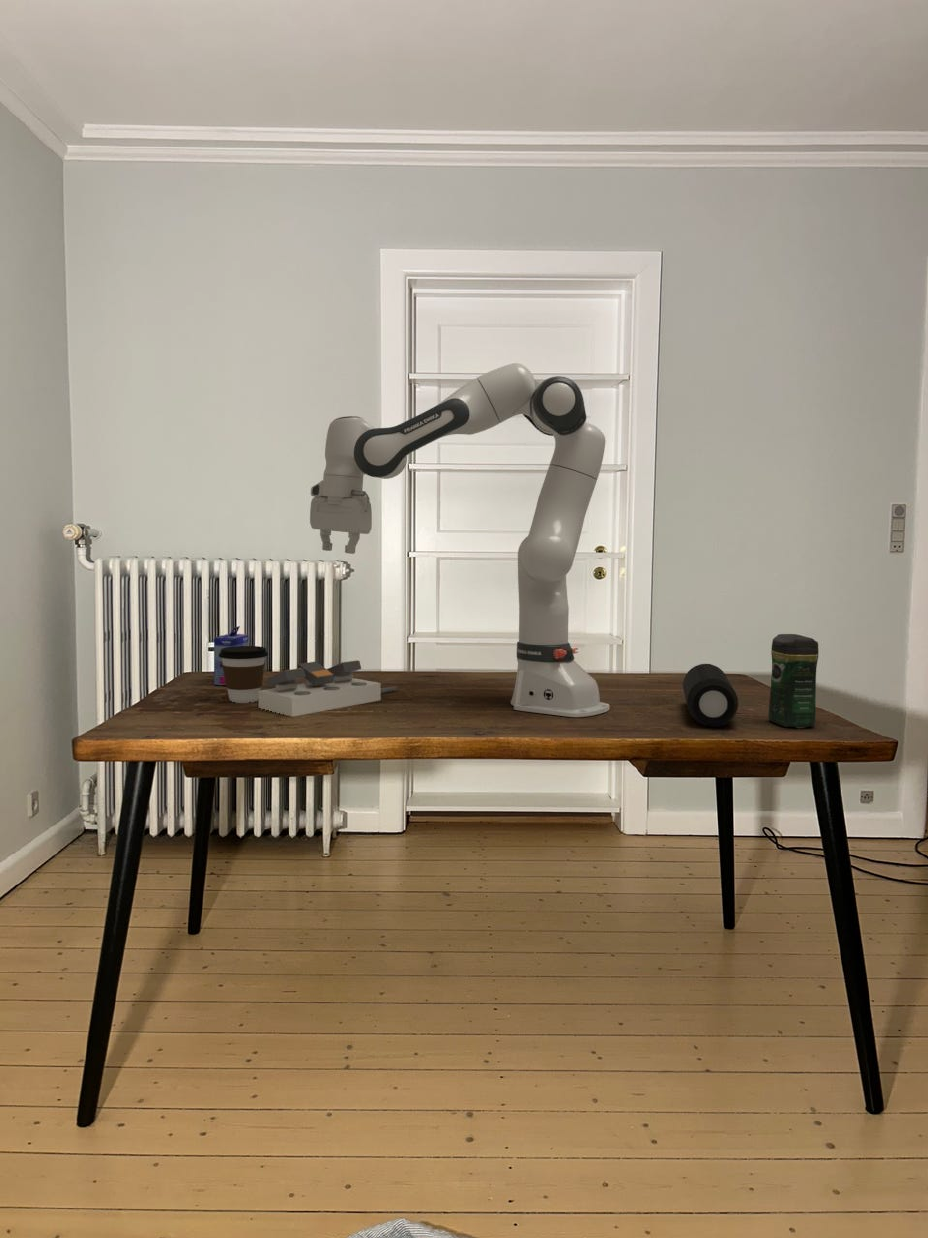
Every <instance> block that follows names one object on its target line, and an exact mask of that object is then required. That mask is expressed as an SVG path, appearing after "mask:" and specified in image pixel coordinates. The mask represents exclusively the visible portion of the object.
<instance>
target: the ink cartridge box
mask: <svg viewBox="0 0 928 1238" xmlns="http://www.w3.org/2000/svg"><path fill="white" fill-rule="evenodd" d="M240 627H241V626H240V625H239V626H235V627H232V630H231V631H230V633H227V634H223V635H219V636H215V637H214V638H213V685H214V686H222V685H226V683H225V677H224V672H223V666H222V665H223V662H222V658H220V657H219V653H221V649H222V648H226V647H234V646H249V634H247V633H246V634H245V633H238V632H239V629H240Z"/></svg>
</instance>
